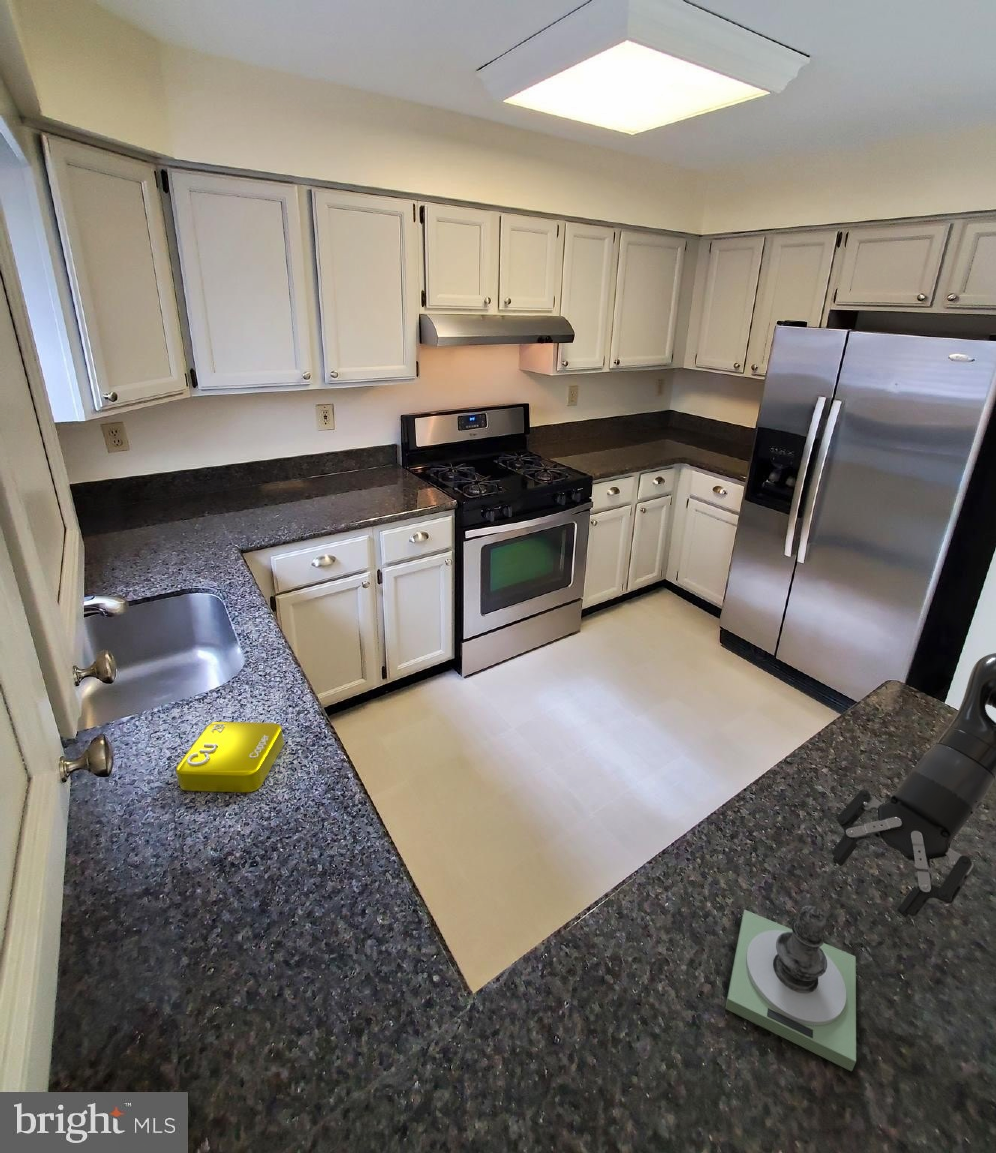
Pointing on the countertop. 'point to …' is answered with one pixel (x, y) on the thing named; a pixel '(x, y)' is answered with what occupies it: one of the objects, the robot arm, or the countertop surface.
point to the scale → (795, 994)
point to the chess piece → (802, 952)
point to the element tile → (230, 757)
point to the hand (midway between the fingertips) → (867, 887)
